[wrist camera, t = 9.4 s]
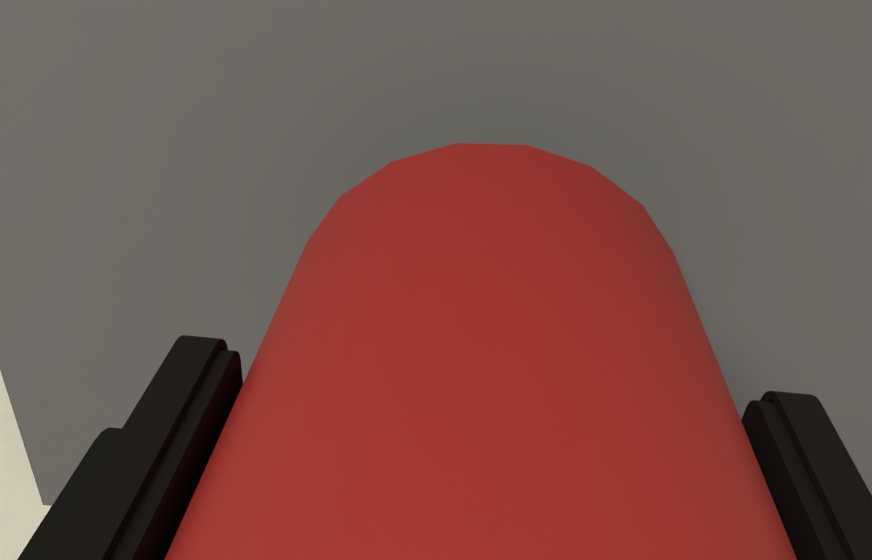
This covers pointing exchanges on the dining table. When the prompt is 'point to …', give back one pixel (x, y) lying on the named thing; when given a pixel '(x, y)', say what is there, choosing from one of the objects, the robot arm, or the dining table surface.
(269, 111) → the mat
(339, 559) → the beer can
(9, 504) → the dining table surface
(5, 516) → the dining table surface
